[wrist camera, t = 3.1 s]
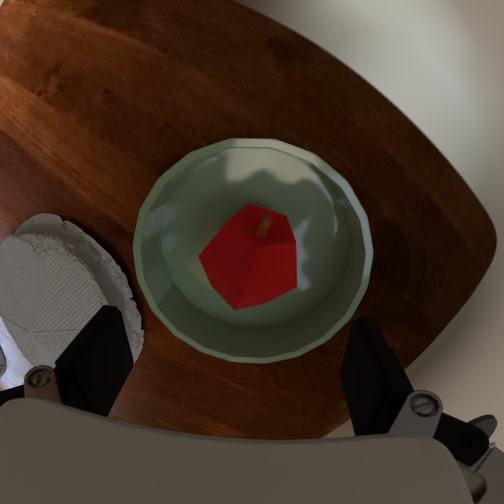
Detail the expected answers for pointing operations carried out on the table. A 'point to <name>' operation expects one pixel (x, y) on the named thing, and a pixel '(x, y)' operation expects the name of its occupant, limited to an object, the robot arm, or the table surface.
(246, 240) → the apple
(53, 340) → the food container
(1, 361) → the planter
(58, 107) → the table surface
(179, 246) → the pale green round dish
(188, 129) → the table surface
